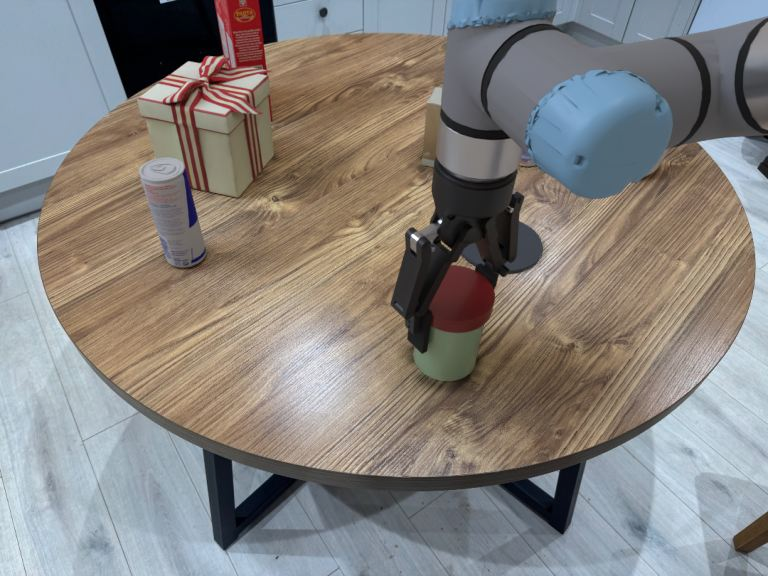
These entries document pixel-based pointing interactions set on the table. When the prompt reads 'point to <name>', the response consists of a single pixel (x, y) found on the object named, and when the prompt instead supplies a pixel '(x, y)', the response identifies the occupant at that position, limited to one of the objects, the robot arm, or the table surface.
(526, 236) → the coaster
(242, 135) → the gift box
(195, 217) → the beverage can
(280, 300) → the table surface
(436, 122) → the cosmetic box
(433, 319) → the lid
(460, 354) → the jar
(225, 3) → the food packaging
